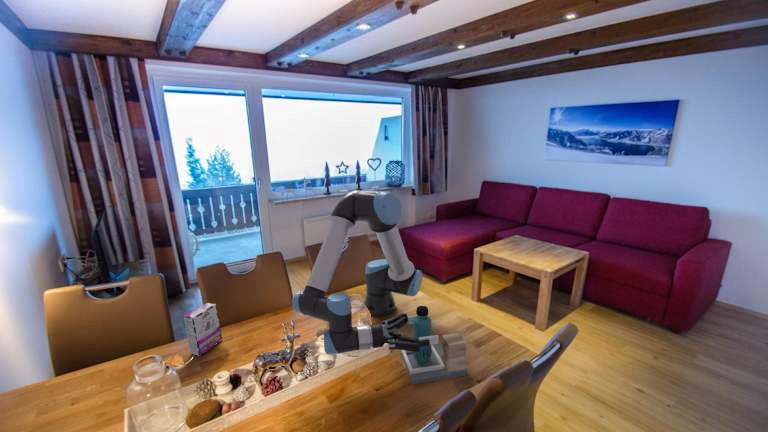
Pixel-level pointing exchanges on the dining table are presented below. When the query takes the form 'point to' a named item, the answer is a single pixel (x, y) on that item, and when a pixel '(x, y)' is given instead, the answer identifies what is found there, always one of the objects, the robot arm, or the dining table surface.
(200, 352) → the candy bar box
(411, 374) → the board
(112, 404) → the dining table surface
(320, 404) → the dining table surface
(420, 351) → the beverage bottle
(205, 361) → the dining table surface
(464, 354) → the wooden pillar
